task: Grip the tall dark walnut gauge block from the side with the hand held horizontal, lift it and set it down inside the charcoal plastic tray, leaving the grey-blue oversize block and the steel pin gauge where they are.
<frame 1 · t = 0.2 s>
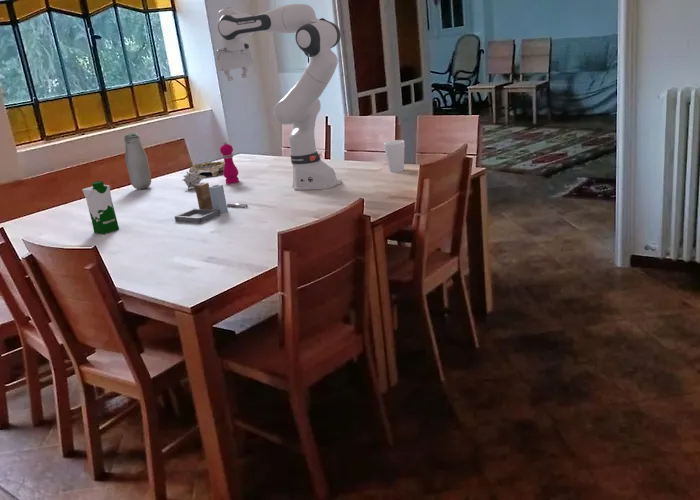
hand: (237, 79, 308), 48 cm above the table, tool pointing down, fingers open, 8 cm apart
foam cup: (396, 171, 311), on the table
milk carton: (106, 231, 274), on the table
tray: (197, 218, 275), on the table
pepper mill: (232, 182, 332), on the table
pin gauge: (237, 207, 285), on the table, tilted 7°
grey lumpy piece: (194, 188, 331), on the table
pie: (211, 173, 363), on the table
walnut block: (206, 209, 287), on the table
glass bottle: (143, 189, 344), on the table
greyblue block: (220, 212, 280), on the table
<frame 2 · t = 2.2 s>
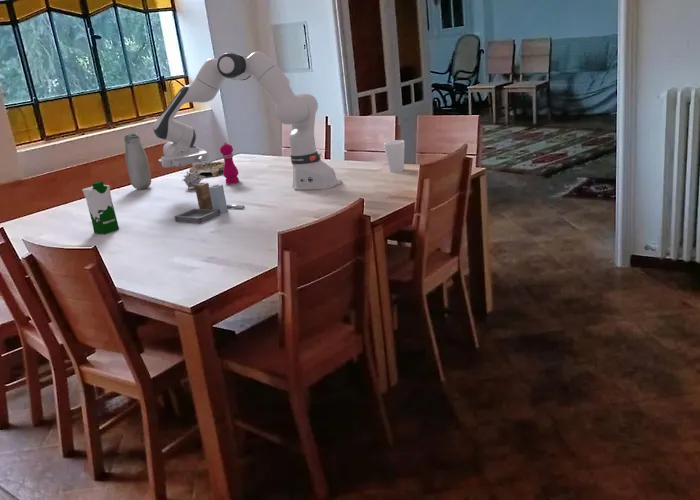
hand: (190, 162, 293), 18 cm above the table, tool horizontal, fingers open, 8 cm apart
pin gauge: (233, 205, 283), point 1 cm above the table, tilted 176°
everything else where it was.
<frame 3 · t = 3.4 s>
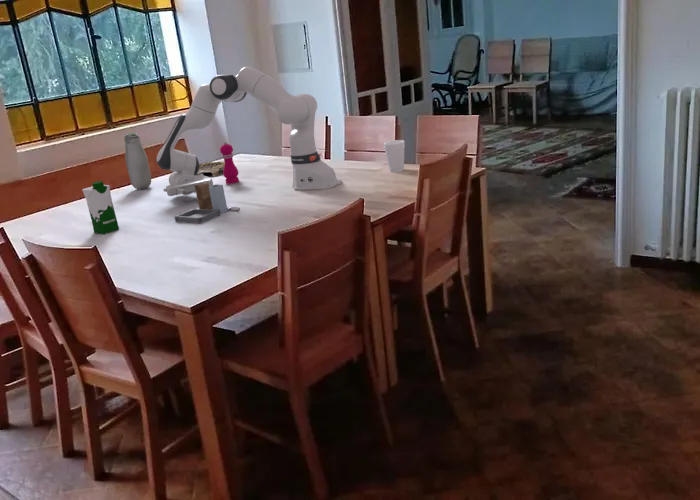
hand: (194, 189, 295), 7 cm above the table, tool horizontal, fingers open, 8 cm apart
pin gauge: (230, 209, 281), on the table, tilted 62°
everything else where it was.
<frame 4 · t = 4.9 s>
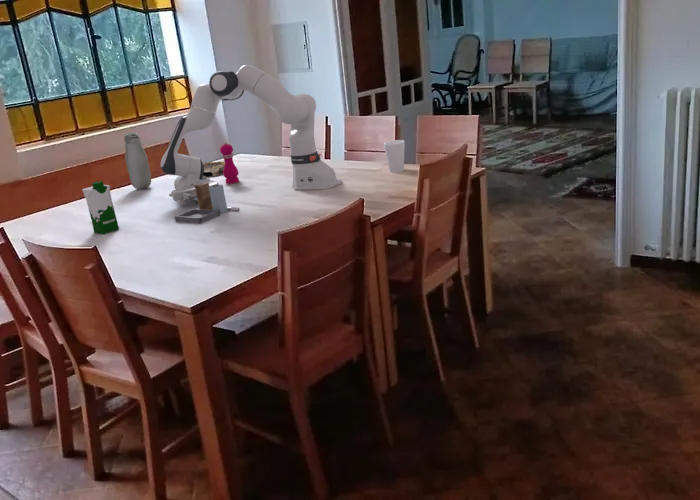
hand: (200, 194, 289), 6 cm above the table, tool horizontal, fingers open, 8 cm apart
pin gauge: (230, 208, 281), on the table, tilted 77°
everything else where it was.
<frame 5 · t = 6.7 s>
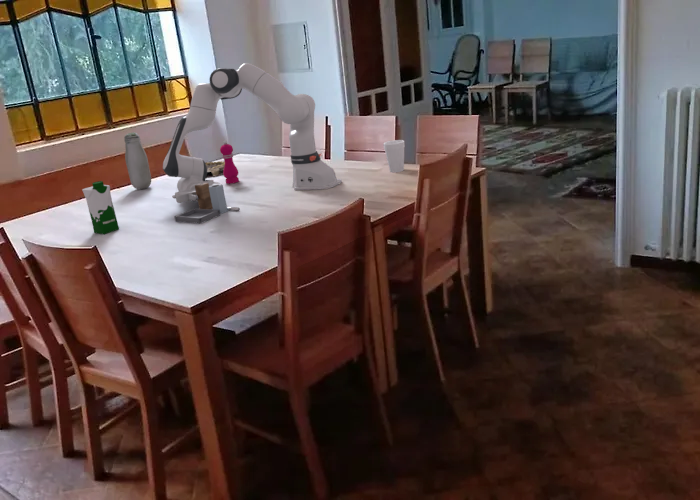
hand: (204, 195, 284), 6 cm above the table, tool horizontal, fingers closed on walnut block, 5 cm apart
pin gauge: (230, 209, 281), on the table, tilted 71°
walnut block: (206, 209, 287), on the table, touching gripper
everything else where it was.
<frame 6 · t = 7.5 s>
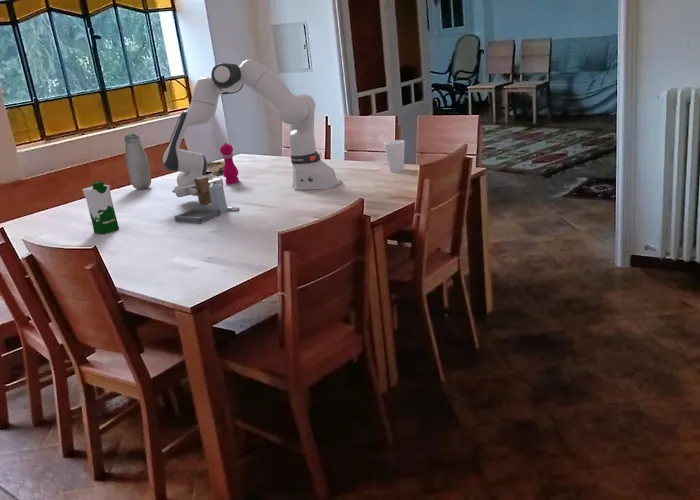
hand: (204, 189, 283), 9 cm above the table, tool horizontal, fingers closed on walnut block, 5 cm apart
pin gauge: (230, 208, 281), on the table, tilted 89°
walnut block: (206, 203, 286), point 3 cm above the table, touching gripper
everything else where it was.
when the fingers open (8 cm above the table, at t = 11.5 s): walnut block drops 2 cm, resting on tray.
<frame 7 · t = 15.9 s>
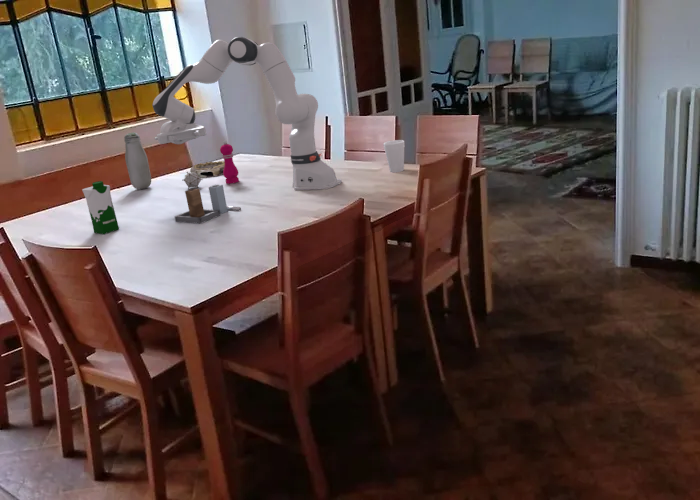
hand: (186, 136, 284), 30 cm above the table, tool horizontal, fingers open, 8 cm apart
pin gauge: (231, 210, 282), on the table, tilted 21°
walnut block: (197, 216, 275), point 1 cm above the table, touching tray
everything else where it was.
at the end: walnut block inside the target area on the tray (0.1 cm from its centre), point 0.6 cm above the tray's base; walnut block tilted 0°; the gripper is holding nothing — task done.
